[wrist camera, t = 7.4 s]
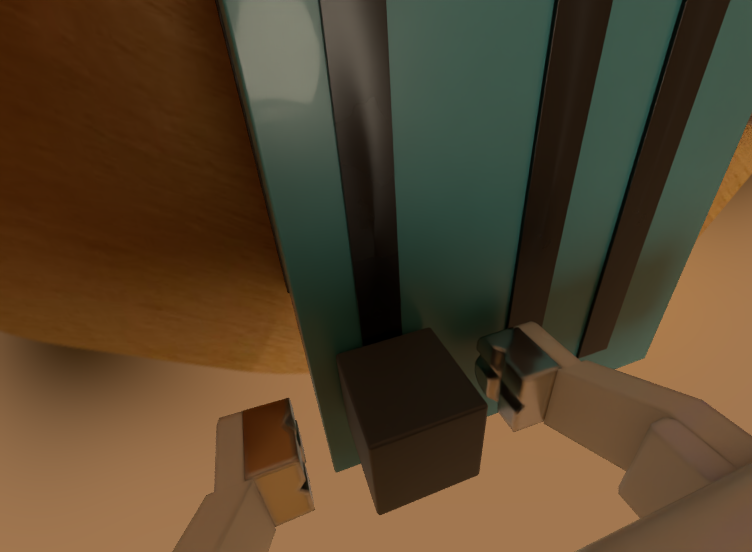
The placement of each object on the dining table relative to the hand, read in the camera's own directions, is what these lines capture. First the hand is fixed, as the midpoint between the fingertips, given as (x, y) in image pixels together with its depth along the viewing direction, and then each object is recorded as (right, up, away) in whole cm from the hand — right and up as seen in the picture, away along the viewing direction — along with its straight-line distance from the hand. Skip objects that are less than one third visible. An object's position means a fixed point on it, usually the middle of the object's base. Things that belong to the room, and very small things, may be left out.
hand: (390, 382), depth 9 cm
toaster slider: (0, 0, 0) cm, 0 cm away
